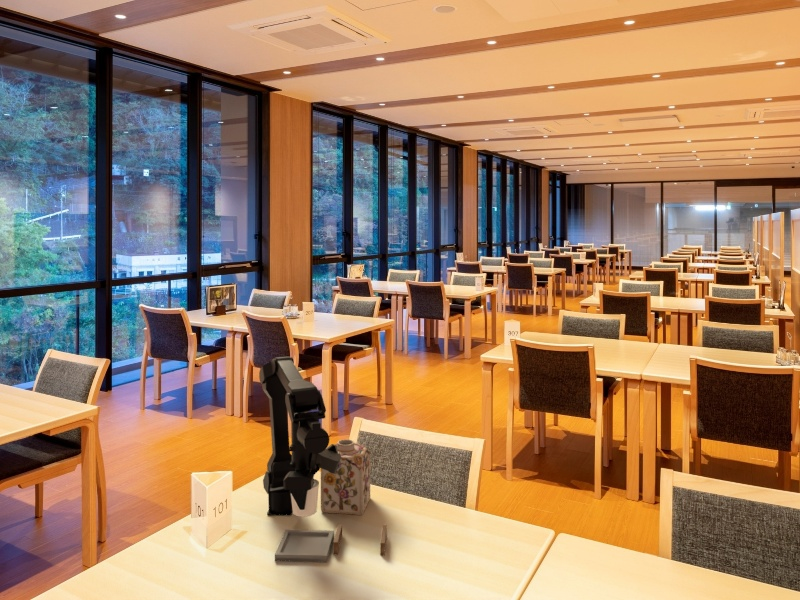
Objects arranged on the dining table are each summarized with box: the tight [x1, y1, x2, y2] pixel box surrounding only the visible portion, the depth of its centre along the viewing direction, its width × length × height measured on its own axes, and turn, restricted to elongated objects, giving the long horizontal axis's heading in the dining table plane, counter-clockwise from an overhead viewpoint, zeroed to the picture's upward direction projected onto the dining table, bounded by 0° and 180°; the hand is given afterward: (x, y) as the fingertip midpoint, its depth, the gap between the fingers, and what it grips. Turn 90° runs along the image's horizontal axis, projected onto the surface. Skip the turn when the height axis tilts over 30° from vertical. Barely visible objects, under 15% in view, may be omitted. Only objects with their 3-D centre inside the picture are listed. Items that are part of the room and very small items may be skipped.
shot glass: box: [291, 478, 320, 518], centre depth 153 cm, size 7×7×7 cm
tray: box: [274, 529, 335, 563], centre depth 154 cm, size 12×12×2 cm
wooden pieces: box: [332, 523, 388, 556], centre depth 156 cm, size 12×9×3 cm
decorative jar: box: [320, 439, 371, 516], centre depth 177 cm, size 12×12×18 cm
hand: (304, 503), depth 153 cm, fingers closed on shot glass, 6 cm apart
